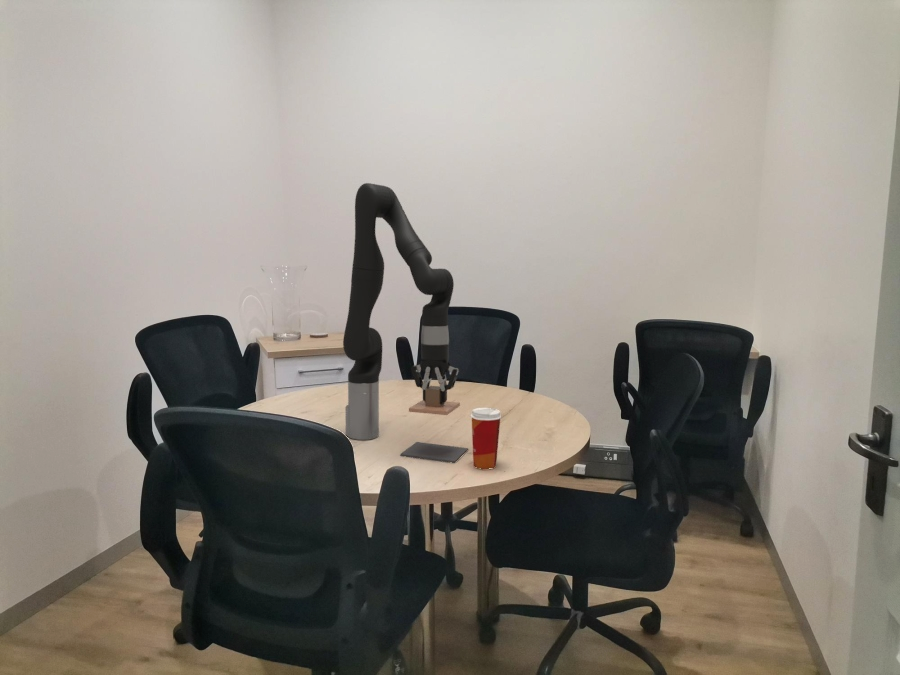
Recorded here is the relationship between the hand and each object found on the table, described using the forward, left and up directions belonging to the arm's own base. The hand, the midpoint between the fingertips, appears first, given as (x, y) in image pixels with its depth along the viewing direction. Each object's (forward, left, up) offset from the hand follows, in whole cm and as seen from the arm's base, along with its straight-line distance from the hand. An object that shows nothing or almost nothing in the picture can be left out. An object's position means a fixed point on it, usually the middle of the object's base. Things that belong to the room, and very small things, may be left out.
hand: (434, 402), depth 171 cm
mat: (0, +1, -15) cm, 15 cm away
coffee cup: (+16, -4, -15) cm, 22 cm away
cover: (0, 0, -2) cm, 2 cm away
